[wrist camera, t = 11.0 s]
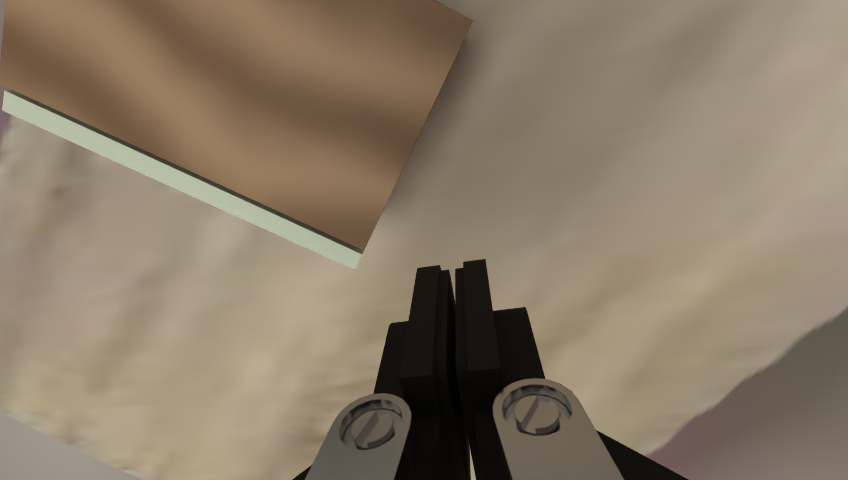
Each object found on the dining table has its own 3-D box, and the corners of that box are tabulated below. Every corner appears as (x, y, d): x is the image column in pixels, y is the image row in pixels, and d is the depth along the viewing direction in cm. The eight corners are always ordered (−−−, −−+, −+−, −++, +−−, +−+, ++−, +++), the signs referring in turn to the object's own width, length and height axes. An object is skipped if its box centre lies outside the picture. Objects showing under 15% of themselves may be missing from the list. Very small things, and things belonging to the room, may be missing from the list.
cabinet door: (134, 79, 35) (4, 88, 25) (386, 200, 38) (362, 253, 28) (128, 106, 36) (0, 126, 26) (375, 222, 39) (348, 282, 29)
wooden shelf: (180, -121, 30) (27, -222, 19) (464, 33, 33) (473, 21, 22) (138, 75, 36) (-2, 83, 24) (388, 194, 38) (363, 250, 27)
